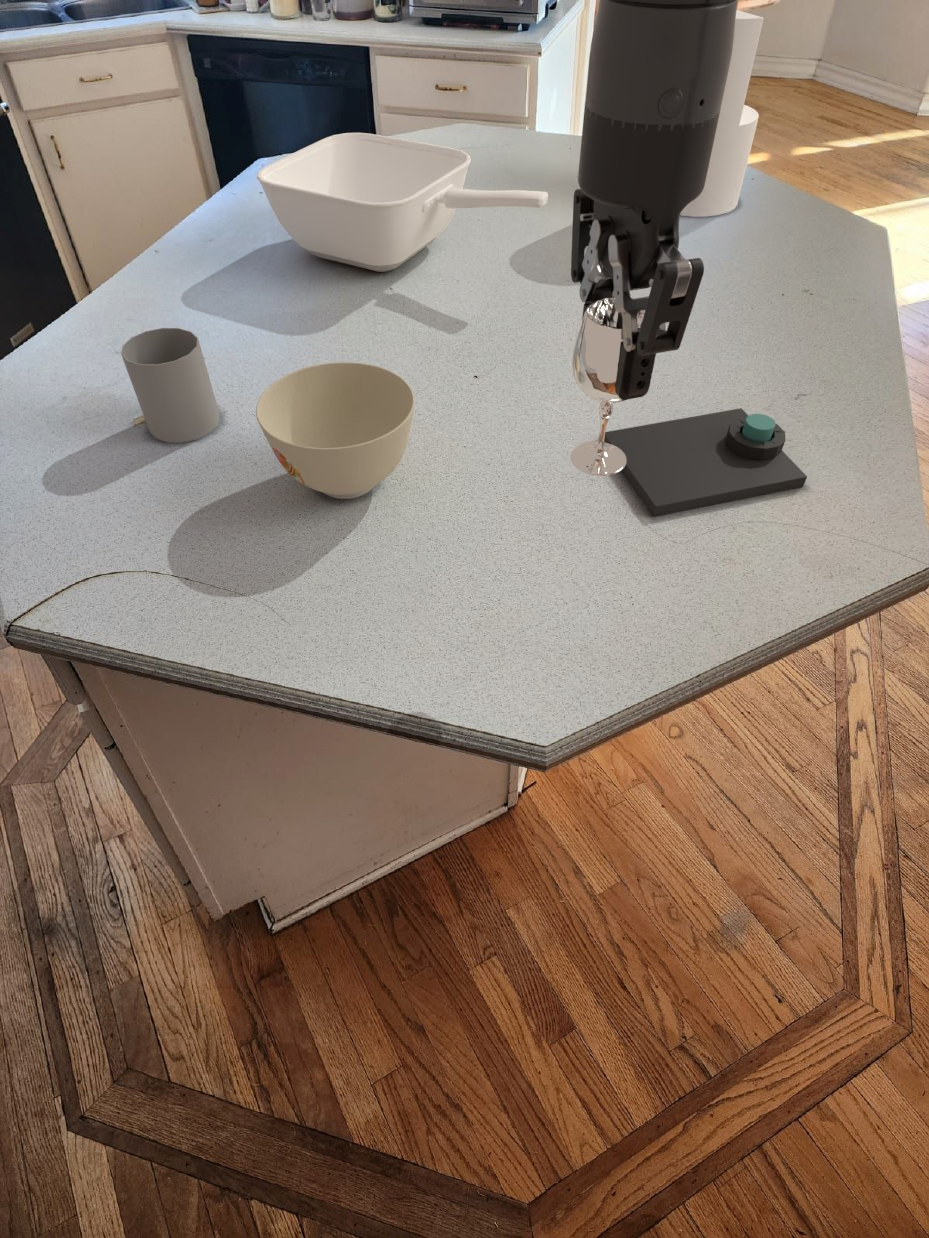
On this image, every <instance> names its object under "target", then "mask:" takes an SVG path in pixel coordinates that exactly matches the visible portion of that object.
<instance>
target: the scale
mask: <svg viewBox="0 0 929 1238" xmlns="http://www.w3.org/2000/svg"><path fill="white" fill-rule="evenodd" d="M748 416H749V414H748V413H746V411H745V410H744V409H743V408H742V407H741V408H740V407H739V408H734V409H729V410H723V411H716V412H711V413H707V414H706V413H705V414H701V415H695V416H689V417H683V418H677V419H672V420H667V421H666V420H665V421H660V422H655V423H649V424H643V425H637V426H632V427H626V428H620V429H615V430H609V431H605V438H604V443H609V444H612V445H614V446H616V447H618V448H619V449H621V450H622V451H623V452H624V454H625V456H626V459H627V462H626V465H625V467H624V468H623V469H622V470H621V471H620V472H622V474H623V476H624V477H625V478H626V479H627V481H628V482H629V484H630V485H631V487H632V489H634V491H635V492H636V494H637V495H638V497H639V498H640V500H641V501H642V502H643V504H644V505H645V506H646V509H648V511H649V512H650V514H651V515H652V517H659V516H664V515H668V514H669V515H670V514H674V513H678V512H683V511H688V510H689V511H690V510H693V509H699V508H703V507H708V506H713V505H714V506H715V505H719V504H723V503H728V502H734V501H739V500H745V499H749V498H753V497H754V498H755V497H759V496H765V495H769V494H773V493H779V492H784V491H790V490H793V489H799V488H803V487H804V486H805V483H806V481H807V478H808V476H807V475H806V474H805V472H804V471H802V469H800V467H799V466H798V465H796V463H795V462H794V461H793V460H792V459H791V458H790V456H788V455H787V454H786V453H785V452H784V451H783V448H784V446H785V442H786V432H785V430H784V429H783V428H782V427H781V426H780V425H778V424H777V423H776V422H775V428H774V431H773V434H772V436H771V439H770V440H769V441H767V442H755V441H751V440H749V439H747V438H744V436H743V435H742V430H743V427H744V424H745V420H746V418H747V417H748Z"/></svg>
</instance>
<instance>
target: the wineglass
mask: <svg viewBox="0 0 929 1238" xmlns="http://www.w3.org/2000/svg"><path fill="white" fill-rule="evenodd" d="M644 313H645V310H641V311H639V313H638V315H637V323H638V330H640V328H641V324H642V321H643V317H644ZM622 346H624V344H623V323H622V315H621V314H620V313H618V312H617V311H616V310H615V304H614V297H613V298H604V299H600V300H597V301H595V302H593V303H591V304H590V305H589V306H588V307H587V309H586V312H585V314H584V317H583V320H582V319H581V323H580V326H579V328H578V331H577V335H576V339H575V343H574V346H573V352H572V363H571V364H572V374H573V377H574V381H575V382H576V385H577V386H578V388H579V389H580V390H581V391H582V393H584V394H585V395H586V396H588V397H589V398H591V399H593V400H596V401H599V402H600V403H599V407H598V414H599V421H600V422H599V433H598V437H597V441H588V442H583V443H581V444H579V445H577V446H576V447H574V448H573V449H572V450H571V453H570V456H569V459H570V463H571V464H572V465H573V466H574V468H576V469H577V470H578V471H580V472H582V473H584V474H587V475H589V476H596V477H607V476H612V475H615V474H617V473H620V472H622V471H621V470H622V469H623V468H624V467H625V465H626V462H627V459H626V456H625V454H624V452H623V451H622V450H621V449H619V448H618V447H616V446H614V445H612V444H609V443H604V438H605V432H607V431H606V430H607V426H608V422H609V419H610V417H611V415H612V413H613V411H614V407H613V406H614V405H613V403H620V402H625V401H628V400H629V399H627V400H622V399H620V398H619V396H618V395H617V394H616V392H615V388H616V382H617V375H618V369H619V363H620V356H621V350H622ZM655 362H656V360H655V361H654V364H655Z"/></svg>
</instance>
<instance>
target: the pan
mask: <svg viewBox="0 0 929 1238" xmlns="http://www.w3.org/2000/svg"><path fill="white" fill-rule="evenodd" d="M471 162H472V160H471V155H470V154H468V153H467V152H465V151H464V150H462V149H457V148H454V147H449V146H444V145H439V144H432V143H426V142H421V141H414V140H411V139H409V140H408V139H403V138H397V137H393V136H386V135H380V134H376V133H375V134H374V133H367V132H345V133H344V132H343V133H339V134H333V135H330V136H326V137H324V138H322V139H320V140H317V141H316V142H313V143H311V144H309V145H307V146H305V147H302V148H301V149H298V150H297V151H295V152H293V153H290V154H289V155H286V156H284V157H282V158H280V159H278V160H276V161H274V162H272V163H270V164H268V165H265V166H264V167H262V168H261V169H259V170H258V172H257V175H256V179H257V180H258V181H259V183H260V185H261V188H262V189H263V192H264V194H265V196H266V199H267V200H268V203H269V205H270V207H271V209H272V211H273V214H274V215H275V217H276V219H277V220H278V222H279V224H280V225H281V226H282V227H283V229H284V230H285V232H287V233H288V235H289V236H290V237H291V238H292V240H293V241H295V243H297V244H298V245H299V246H300V247H301V248H303V249H304V250H305V251H307V252H308V253H309V254H311V255H313V256H315V257H317V258H320V259H325V260H329V261H333V262H337V263H340V264H341V263H342V264H346V265H350V266H353V267H357V268H361V269H367V270H370V271H375V272H378V273H379V272H380V273H382V272H384V273H385V272H390V271H392V270H395V269H397V268H399V267H400V266H401V265H403V264H404V263H406V262H408V260H410V259H411V258H413V257H414V256H415V255H417V254H418V253H419V252H421V251H422V250H424V249H425V248H427V247H428V246H429V245H431V244H432V243H433V242H434V241H435V240H436V239H437V238H438V237H439V236H440V235H441V234H442V233H443V232H444V231H445V229H446V228H447V226H448V225H449V224H450V222H451V220H452V219H453V217H454V215H455V213H456V211H457V209H477V208H479V209H480V208H501V207H502V208H503V207H504V208H505V207H514V208H515V207H516V208H534V209H540V208H542V207H544V206H545V205H546V204H547V203H548V200H549V193H548V192H547V191H539V190H538V191H537V190H524V189H523V190H522V189H506V190H505V189H504V190H503V189H501V190H481V189H469V188H468V189H467V188H464V186H465V182H466V178H467V173H468V169H469V166H470V164H471Z"/></svg>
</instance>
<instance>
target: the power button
mask: <svg viewBox="0 0 929 1238" xmlns="http://www.w3.org/2000/svg"><path fill="white" fill-rule="evenodd" d="M775 423H776V421H775V419H774V418H773V417H771V416H770V415H767V414H763V413H751V414H750V415H749V414H748V417H747V418H746V420H745V424H744V427H743V430H742V435H743V436H744V438H747V439H749V440H751V441H755V442H767V441H769V440H770V439H771V436H772V434H773V431H774V428H775Z"/></svg>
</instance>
